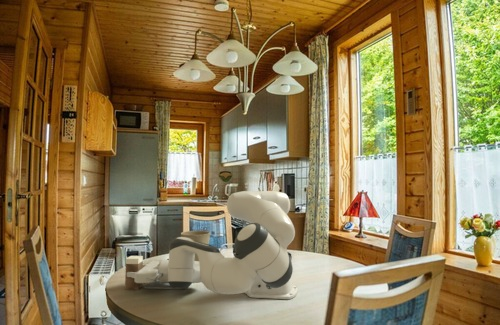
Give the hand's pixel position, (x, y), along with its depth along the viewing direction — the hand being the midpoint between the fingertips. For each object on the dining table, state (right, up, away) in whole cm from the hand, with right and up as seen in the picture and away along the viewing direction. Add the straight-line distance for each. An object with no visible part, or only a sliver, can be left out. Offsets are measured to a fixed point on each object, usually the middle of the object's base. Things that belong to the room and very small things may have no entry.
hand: (132, 270), depth 134 cm
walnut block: (+1, -7, 0) cm, 7 cm away
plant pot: (+19, -9, +37) cm, 42 cm away
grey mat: (+14, -7, +4) cm, 16 cm away
